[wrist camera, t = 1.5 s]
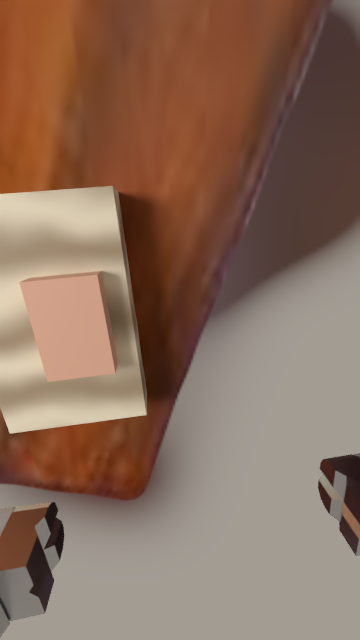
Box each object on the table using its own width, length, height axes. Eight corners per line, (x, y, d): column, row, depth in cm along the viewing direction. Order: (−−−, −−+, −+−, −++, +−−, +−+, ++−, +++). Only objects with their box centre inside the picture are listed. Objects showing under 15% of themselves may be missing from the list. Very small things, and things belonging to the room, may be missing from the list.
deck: (-41, 204, 24) (-76, 199, 20) (118, 192, 25) (112, 185, 21) (26, 408, 31) (9, 433, 27) (146, 393, 32) (146, 414, 28)
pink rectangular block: (29, 277, 23) (19, 282, 21) (101, 270, 23) (97, 274, 21) (55, 370, 26) (47, 382, 24) (117, 363, 26) (115, 373, 24)
